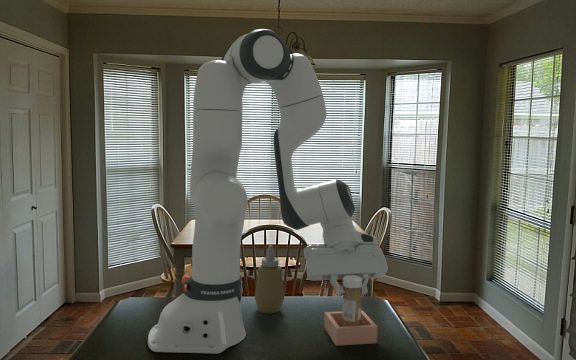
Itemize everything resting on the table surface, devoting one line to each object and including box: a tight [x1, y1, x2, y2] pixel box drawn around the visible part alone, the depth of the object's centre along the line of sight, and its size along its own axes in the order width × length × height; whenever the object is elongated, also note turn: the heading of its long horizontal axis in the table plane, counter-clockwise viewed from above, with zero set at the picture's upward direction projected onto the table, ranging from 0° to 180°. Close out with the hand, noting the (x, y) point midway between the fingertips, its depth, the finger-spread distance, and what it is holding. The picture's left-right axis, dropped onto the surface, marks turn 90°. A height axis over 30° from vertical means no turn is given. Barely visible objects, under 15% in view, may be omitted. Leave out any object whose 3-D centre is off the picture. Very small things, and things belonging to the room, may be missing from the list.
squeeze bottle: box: [254, 244, 285, 315], centre depth 126 cm, size 8×8×18 cm
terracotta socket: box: [323, 309, 378, 347], centre depth 113 cm, size 10×10×4 cm
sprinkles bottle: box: [342, 275, 363, 327], centre depth 112 cm, size 5×5×14 cm
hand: (352, 294), depth 111 cm, fingers closed on sprinkles bottle, 4 cm apart
